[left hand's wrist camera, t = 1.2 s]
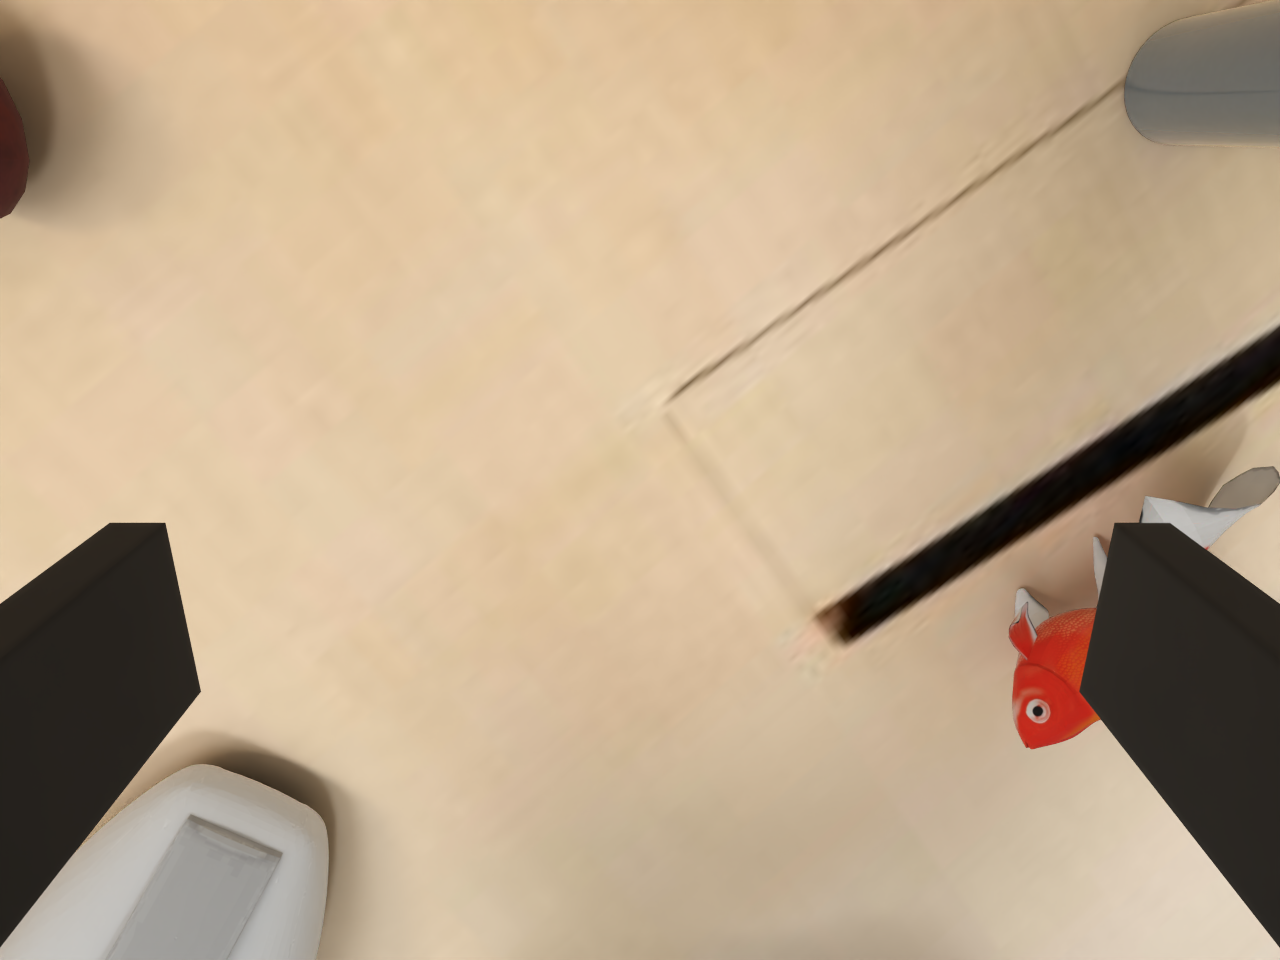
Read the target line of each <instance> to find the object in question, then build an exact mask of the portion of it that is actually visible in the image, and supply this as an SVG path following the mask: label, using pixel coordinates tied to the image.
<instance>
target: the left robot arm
mask: <svg viewBox="0 0 1280 960" xmlns="http://www.w3.org/2000/svg"><path fill="white" fill-rule="evenodd" d="M200 692H201V690H200V685H199V680H198V676H197V671H196V666H195V661H194V657H193V652H192V647H191V642H190V638H189V633H188V628H187V623H186V619H185V614H184V609H183V604H182V600H181V595H180V590H179V586H178V581H177V576H176V571H175V567H174V562H173V557H172V552H171V548H170V543H169V538H168V533H167V529H166V524H165V523H109V524H108V525H106V526H105V527H104V528H102V529H101V530H100V531H98V532H97V533H96V534H94V535H93V536H92V537H90V538H89V539H87V540H86V541H85V542H83V543H82V544H81V545H79V546H78V547H77V548H75V549H74V550H73V551H71V552H70V553H68V554H67V555H66V556H64V557H63V558H62V559H60V560H59V561H58V562H56V563H55V564H54V565H52V566H51V567H50V568H48V569H47V570H45V571H44V572H43V573H41V574H40V575H39V576H37V577H36V578H35V579H33V580H32V581H31V582H29V583H28V584H27V585H25V586H24V587H22V588H21V589H20V590H18V591H17V592H16V593H14V594H13V595H12V596H10V597H9V598H8V599H6V600H5V601H4V602H2V603H1V604H0V947H1V946H2V945H3V943H4V942H5V941H6V940H7V938H8V937H9V936H10V934H11V933H12V932H13V931H14V929H15V928H16V927H17V926H18V924H19V923H20V922H21V920H22V919H23V918H24V917H25V915H26V914H27V913H28V911H29V910H30V909H31V908H32V906H33V905H34V904H35V903H36V901H37V900H38V899H39V897H40V896H41V895H42V894H43V892H44V891H45V890H46V889H47V887H48V886H49V885H50V883H51V882H52V881H53V880H54V878H55V877H56V876H57V874H58V873H59V872H60V871H61V869H62V868H63V867H64V866H65V864H66V863H67V862H68V860H69V859H70V858H71V857H72V855H73V854H74V853H75V852H76V850H77V849H78V848H79V846H80V845H81V844H82V843H83V841H84V840H85V839H86V837H87V836H88V835H89V834H90V832H91V831H92V830H93V829H94V827H95V826H96V825H97V823H98V822H99V821H100V820H101V818H102V817H103V816H104V815H105V813H106V812H107V811H108V809H109V808H110V807H111V806H112V804H113V803H114V802H115V800H116V799H117V798H118V797H119V795H120V794H121V793H122V792H123V790H124V789H125V788H126V786H127V785H128V784H129V783H130V781H131V780H132V779H133V778H134V776H135V775H136V774H137V772H138V771H139V770H140V769H141V767H142V766H143V765H144V763H145V762H146V761H147V760H148V758H149V757H150V756H151V755H152V753H153V752H154V751H155V749H156V748H157V747H158V746H159V744H160V743H161V742H162V741H163V739H164V738H165V737H166V735H167V734H168V733H169V732H170V730H171V729H172V728H173V726H174V725H175V724H176V723H177V721H178V720H179V719H180V718H181V716H182V715H183V714H184V712H185V711H186V710H187V709H188V707H189V706H190V705H191V704H192V702H193V701H194V700H195V698H196V697H197V696H198V695H199V693H200ZM1079 692H1080V693H1081V695H1082V696H1083V697H1084V698H1085V700H1086V701H1087V702H1088V704H1089V705H1090V706H1091V707H1092V709H1093V710H1094V711H1095V712H1096V714H1097V715H1098V716H1099V718H1100V719H1101V720H1102V721H1103V723H1104V724H1105V725H1106V726H1107V728H1108V729H1109V730H1110V732H1111V733H1112V734H1113V735H1114V737H1115V738H1116V739H1117V741H1118V742H1119V743H1120V744H1121V746H1122V747H1123V748H1124V749H1125V751H1126V752H1127V753H1128V755H1129V756H1130V757H1131V758H1132V760H1133V761H1134V762H1135V763H1136V765H1137V766H1138V767H1139V769H1140V770H1141V771H1142V772H1143V774H1144V775H1145V776H1146V778H1147V779H1148V780H1149V781H1150V783H1151V784H1152V785H1153V786H1154V788H1155V789H1156V790H1157V792H1158V793H1159V794H1160V795H1161V797H1162V798H1163V799H1164V800H1165V802H1166V803H1167V804H1168V806H1169V807H1170V808H1171V809H1172V811H1173V812H1174V813H1175V815H1176V816H1177V817H1178V818H1179V820H1180V821H1181V822H1182V823H1183V825H1184V826H1185V827H1186V829H1187V830H1188V831H1189V832H1190V834H1191V835H1192V836H1193V837H1194V839H1195V840H1196V841H1197V843H1198V844H1199V845H1200V846H1201V848H1202V849H1203V850H1204V852H1205V853H1206V854H1207V855H1208V857H1209V858H1210V859H1211V860H1212V862H1213V863H1214V864H1215V866H1216V867H1217V868H1218V869H1219V871H1220V872H1221V873H1222V874H1223V876H1224V877H1225V878H1226V880H1227V881H1228V882H1229V883H1230V885H1231V886H1232V887H1233V889H1234V890H1235V891H1236V892H1237V894H1238V895H1239V896H1240V897H1241V899H1242V900H1243V901H1244V903H1245V904H1246V905H1247V906H1248V908H1249V909H1250V910H1251V911H1252V913H1253V914H1254V915H1255V917H1256V918H1257V919H1258V920H1259V922H1260V923H1261V924H1262V926H1263V927H1264V928H1265V929H1266V931H1267V932H1268V933H1269V934H1270V936H1271V937H1272V938H1273V940H1274V941H1275V942H1276V943H1277V945H1278V946H1279V947H1280V604H1279V603H1278V602H1276V601H1275V600H1274V599H1272V598H1271V597H1270V596H1268V595H1267V594H1266V593H1264V592H1263V591H1262V590H1260V589H1259V588H1258V587H1256V586H1255V585H1253V584H1252V583H1251V582H1249V581H1248V580H1247V579H1245V578H1244V577H1243V576H1241V575H1240V574H1239V573H1237V572H1236V571H1235V570H1233V569H1232V568H1230V567H1229V566H1228V565H1226V564H1225V563H1224V562H1222V561H1221V560H1220V559H1218V558H1217V557H1216V556H1214V555H1213V554H1212V553H1210V552H1209V551H1207V550H1206V549H1205V548H1203V547H1202V546H1201V545H1199V544H1198V543H1197V542H1195V541H1194V540H1193V539H1191V538H1190V537H1188V536H1187V535H1186V534H1184V533H1183V532H1182V531H1180V530H1179V529H1178V528H1176V527H1175V526H1174V525H1172V524H1171V523H1115V524H1114V529H1113V533H1112V538H1111V543H1110V548H1109V552H1108V557H1107V562H1106V567H1105V571H1104V576H1103V581H1102V586H1101V590H1100V595H1099V600H1098V604H1097V609H1096V614H1095V619H1094V623H1093V628H1092V633H1091V638H1090V642H1089V647H1088V652H1087V657H1086V661H1085V666H1084V671H1083V676H1082V680H1081V685H1080V690H1079Z"/></svg>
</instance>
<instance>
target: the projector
mask: <svg viewBox="0 0 1280 960" xmlns="http://www.w3.org/2000/svg"><path fill="white" fill-rule="evenodd" d="M328 866H329V848H328V835H327V830H326V826H325V823H324V821H323V819H322V818H321V817H320V815H319V814H318V813H317V812H316V811H314V810H313V809H312V808H310V807H309V806H307V805H306V804H303V803H300V802H299V801H297V800H295V799H293V798H291V797H289V796H287V795H285V794H284V793H282V792H280V791H278V790H276V789H273V788H271V787H269V786H266V785H264V784H262V783H260V782H257V781H255V780H253V779H250V778H247V777H245V776H242V775H240V774H237V773H233V772H230V771H228V770H225V769H223V768H221V767H218V766H214V765H208V764H196V765H191V766H188V767H185V768H183V769H181V770H179V771H177V772H175V773H173V774H172V775H170V776H168V777H167V778H165V779H164V780H162V781H160V782H159V783H157V784H156V785H155V786H153V787H152V788H150V789H149V790H148V791H146V792H145V793H143V794H142V795H141V796H139V797H138V798H137V799H135V800H134V801H133V802H132V803H130V804H129V805H128V806H126V807H125V808H124V809H123V810H121V811H120V812H119V813H118V814H117V815H115V816H114V817H113V818H112V819H111V820H110V821H108V822H107V823H106V824H105V825H104V826H103V827H102V828H100V829H99V830H98V831H97V832H96V833H95V834H94V835H93V836H92V837H91V838H90V839H88V840H87V841H86V842H85V843H84V844H83V845H82V846H81V847H80V848H79V849H78V850H77V851H76V852H75V853H74V854H73V855H72V857H71V858H70V859H69V860H68V862H67V863H66V864H65V866H64V867H63V868H62V869H61V871H60V872H59V873H58V874H57V876H56V877H55V878H54V880H53V881H52V882H51V883H50V885H49V886H48V887H47V889H46V890H45V891H44V892H43V894H42V895H41V896H40V897H39V899H38V900H37V901H36V903H35V904H34V905H33V906H32V908H31V909H30V910H29V911H28V913H27V914H26V915H25V917H24V918H23V919H22V920H21V922H20V923H19V924H18V926H17V927H16V928H15V929H14V931H13V932H12V933H11V934H10V936H9V937H8V938H7V940H6V941H5V942H4V943H3V945H2V946H1V947H0V960H316V956H317V952H318V948H319V943H320V938H321V933H322V927H323V921H324V913H325V906H326V898H327V885H328Z"/></svg>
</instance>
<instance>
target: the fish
mask: <svg viewBox="0 0 1280 960" xmlns="http://www.w3.org/2000/svg"><path fill="white" fill-rule="evenodd" d="M1279 483H1280V477H1279V473H1278V471H1277V470H1276V469H1275V467H1273V466H1272V467H1260V468H1252V469H1250V470H1248V471H1246V472H1244V473H1242V474H1240V475H1239V476H1237V477H1236V478H1234V479H1232V480H1231V481H1229V482H1228V483H1226V484H1224V485H1223V486H1222V488H1221V489H1220V490H1219V492H1218V493H1217V495H1216V496H1215V497H1214V499H1213V500H1212V502H1211V503H1210V505H1209V507H1208V508H1206V507H1202V506H1197V505H1192V504H1187V503H1183V502H1178V501H1172V500H1167V499H1161V498H1155V497H1149V496H1145V500H1144V504H1143V508H1142V512H1141V516H1140V520H1139V521H1140V523H1171V524H1172V525H1174V526H1175V527H1176V528H1178V529H1179V530H1180V531H1182V532H1183V533H1184V534H1186V535H1187V536H1188V537H1190V538H1191V539H1193V540H1194V541H1195V542H1197V543H1198V544H1199V545H1201V546H1202V547H1203V548H1205V549H1206V550H1207V549H1208V548H1209V547H1210V546H1211V545H1212V544H1213V543H1214V542H1215V541H1216V540H1217V539H1218V538H1219V537H1220V536H1221V535H1222V534H1223V533H1224V532H1225V531H1226V530H1227V529H1228V528H1229V527H1230V526H1231V525H1233V524H1234V523H1235V522H1236V521H1237V520H1238V519H1239V518H1241V517H1242V516H1243V515H1245V514H1246V513H1247V512H1249V511H1251V510H1252V509H1254V508H1256V507H1258V506H1259V505H1261V504H1262V503H1263V502H1264V501H1265V500H1266V499H1267V498H1268V497H1269V496H1270V495H1271V494H1272V493H1273V492H1274V491H1275V489H1276V488H1277V486H1278V485H1279ZM1093 553H1094V573H1095V579H1096V584H1097V589H1098V600H1099V595H1100V590H1101V586H1102V581H1103V576H1104V571H1105V567H1106V562H1107V556H1106V554H1105V552H1104V550H1103V548H1102V546H1101V544H1100V541H1099V539H1098V538H1097V537H1093ZM1096 609H1097V608H1085V609H1077V610H1073V611H1068V612H1064V613H1061V614H1058V615H1055V616H1053V617H1050V618H1049V613H1048V610H1047V609H1046V608H1045V607H1044V606H1043V605H1041V604H1040V603H1039V602H1037V601H1036V600H1035V599H1034V598H1033V597H1032V596H1031V595H1030V594H1029V593H1028V592H1027V591H1026V590H1025V589H1023V588H1021V589H1019V590H1018V591H1017V593H1016V600H1015V619H1014V621H1013V623H1012V624H1011V625H1010V628H1009V639H1010V641H1011V642H1012V644H1013V646H1014V647H1015V648H1016V649H1017V650H1018V652H1019V656H1018V660H1017V664H1016V669H1015V672H1014V682H1013V696H1012V710H1013V719H1014V722H1015V725H1016V729H1017V731H1018V733H1019V735H1020V738H1021V739H1022V741H1023V743H1024V745H1025V747H1026V748H1030V749H1035V748H1039V747H1043V746H1048V745H1052V744H1056V743H1060V742H1063V741H1066V740H1068V739H1071V738H1073V737H1075V736H1076V735H1078V734H1079V733H1081V732H1082V731H1083V730H1085V729H1086V728H1087V727H1089V726H1090V725H1091V724H1093V723H1094V722H1096V721H1098V720H1100V718H1099V716H1098V715H1097V714H1096V712H1095V711H1094V710H1093V709H1092V707H1091V706H1090V705H1089V704H1088V702H1087V701H1086V700H1085V698H1084V697H1083V696H1082V695H1081V693H1080V692H1079V690H1080V685H1081V680H1082V676H1083V671H1084V666H1085V661H1086V657H1087V652H1088V647H1089V642H1090V638H1091V633H1092V628H1093V623H1094V619H1095V614H1096Z"/></svg>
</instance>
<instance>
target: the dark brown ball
mask: <svg viewBox="0 0 1280 960" xmlns="http://www.w3.org/2000/svg"><path fill="white" fill-rule="evenodd" d="M28 168H29V156H28V150H27V145H26V139H25V134H24V129H23V123H22V119H21V117H20V115H19V113H18V111H17V109H16V106H15V104H14V102H13V100H12V98H11V96H10V94H9V92H8V90H7V88H6V86H5V84H4V82H3V80H2V79H1V78H0V218H2V217H4V216H6V215H8V214H10V213H11V212H12V210H13V209H14V207H15V206H16V204H17V203H18V201H19V200H20V198H21V196H22V195H23V193H24V192H25V187H26V181H27V174H28Z"/></svg>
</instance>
